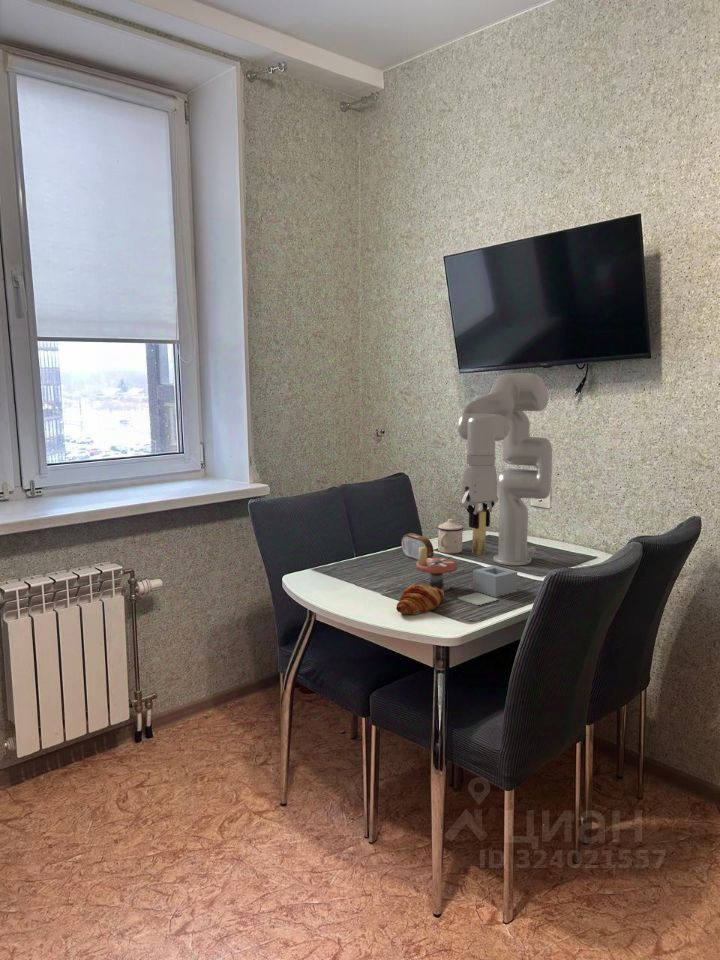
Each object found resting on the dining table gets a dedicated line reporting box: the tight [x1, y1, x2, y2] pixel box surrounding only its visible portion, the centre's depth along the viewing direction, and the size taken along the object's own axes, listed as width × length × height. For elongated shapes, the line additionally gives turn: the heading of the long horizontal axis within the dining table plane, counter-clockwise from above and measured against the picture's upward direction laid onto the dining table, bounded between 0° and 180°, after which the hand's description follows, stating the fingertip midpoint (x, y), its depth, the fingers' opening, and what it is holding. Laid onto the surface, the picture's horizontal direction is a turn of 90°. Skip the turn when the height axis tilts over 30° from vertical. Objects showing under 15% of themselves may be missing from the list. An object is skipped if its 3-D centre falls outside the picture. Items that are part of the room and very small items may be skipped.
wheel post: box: [423, 573, 451, 593], centre depth 210 cm, size 8×8×6 cm
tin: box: [400, 532, 435, 561], centre depth 244 cm, size 15×3×8 cm, turn 35°
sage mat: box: [457, 592, 499, 606], centre depth 199 cm, size 8×8×1 cm
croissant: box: [395, 584, 445, 615], centre depth 193 cm, size 21×10×8 cm, turn 142°
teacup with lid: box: [437, 518, 464, 554], centre depth 254 cm, size 12×9×12 cm
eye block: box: [472, 565, 518, 598], centre depth 207 cm, size 9×9×6 cm
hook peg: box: [471, 509, 487, 556], centre depth 197 cm, size 4×4×12 cm
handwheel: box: [415, 547, 458, 574], centre depth 209 cm, size 12×12×6 cm
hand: (479, 526), depth 196 cm, fingers closed on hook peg, 3 cm apart
